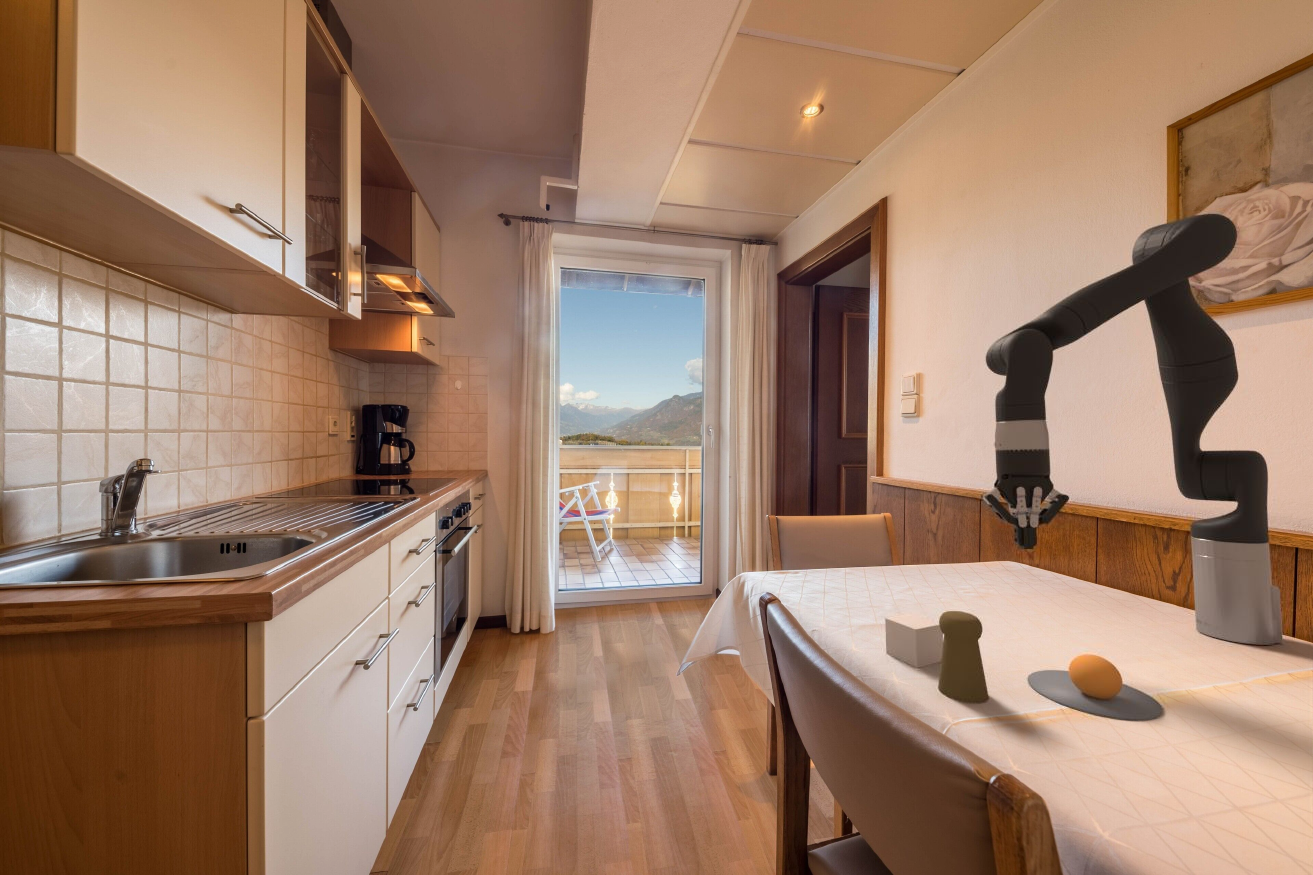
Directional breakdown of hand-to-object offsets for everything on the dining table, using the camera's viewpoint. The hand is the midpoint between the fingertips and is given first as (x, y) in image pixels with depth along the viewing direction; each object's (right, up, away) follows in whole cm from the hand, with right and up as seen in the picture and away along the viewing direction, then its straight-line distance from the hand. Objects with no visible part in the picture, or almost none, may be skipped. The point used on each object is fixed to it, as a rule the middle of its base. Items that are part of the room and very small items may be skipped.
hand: (1026, 548), depth 85 cm
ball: (-3, -14, -17) cm, 22 cm away
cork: (-20, -17, -15) cm, 31 cm away
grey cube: (-21, -18, -3) cm, 27 cm away
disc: (-3, -16, -16) cm, 23 cm away
